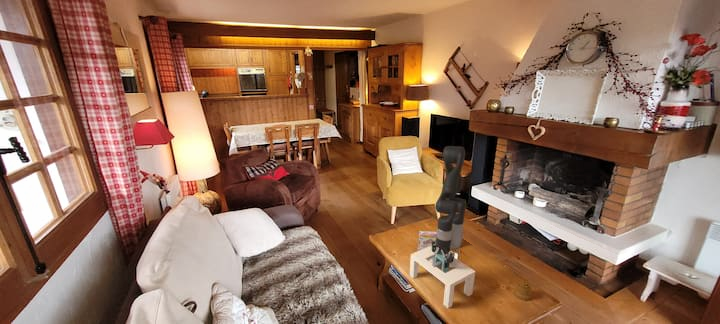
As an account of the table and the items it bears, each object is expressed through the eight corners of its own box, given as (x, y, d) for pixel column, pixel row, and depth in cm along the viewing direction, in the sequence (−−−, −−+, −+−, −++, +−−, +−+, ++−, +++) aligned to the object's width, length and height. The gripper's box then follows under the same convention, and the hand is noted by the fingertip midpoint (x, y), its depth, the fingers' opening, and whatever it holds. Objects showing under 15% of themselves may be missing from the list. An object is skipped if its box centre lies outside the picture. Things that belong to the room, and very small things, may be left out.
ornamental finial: (533, 299, 145) (522, 302, 143) (522, 289, 151) (510, 292, 149) (536, 286, 142) (524, 289, 140) (524, 276, 149) (512, 279, 147)
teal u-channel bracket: (439, 266, 156) (440, 251, 153) (447, 272, 151) (449, 258, 148) (433, 268, 154) (434, 254, 151) (442, 275, 149) (443, 260, 146)
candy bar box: (418, 258, 177) (419, 234, 172) (417, 253, 182) (418, 230, 177) (436, 259, 176) (438, 235, 171) (435, 254, 181) (437, 231, 176)
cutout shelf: (432, 264, 171) (434, 242, 166) (472, 294, 148) (475, 269, 144) (409, 275, 162) (410, 252, 157) (447, 308, 139) (450, 282, 135)
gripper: (460, 240, 142) (457, 269, 147) (438, 227, 154) (436, 254, 159) (449, 245, 138) (446, 274, 143) (428, 231, 150) (426, 259, 155)
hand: (441, 263), depth 151 cm, fingers closed on teal u-channel bracket, 6 cm apart
